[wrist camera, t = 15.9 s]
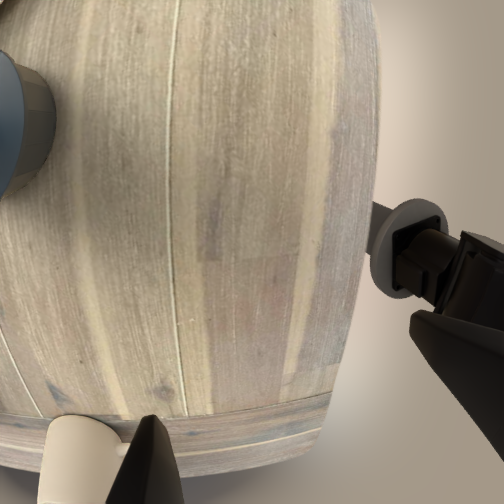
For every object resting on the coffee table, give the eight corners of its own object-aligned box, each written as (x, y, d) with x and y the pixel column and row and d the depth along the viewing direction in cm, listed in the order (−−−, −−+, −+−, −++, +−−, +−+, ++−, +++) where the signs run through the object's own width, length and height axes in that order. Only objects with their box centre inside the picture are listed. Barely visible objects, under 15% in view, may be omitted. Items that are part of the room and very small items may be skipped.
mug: (136, 402, 24) (142, 502, 15) (166, 447, 28) (179, 529, 18) (34, 414, 22) (18, 498, 13) (73, 456, 25) (70, 530, 16)
